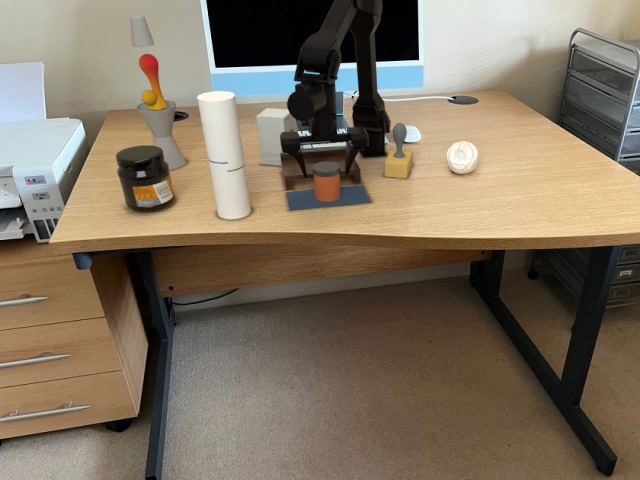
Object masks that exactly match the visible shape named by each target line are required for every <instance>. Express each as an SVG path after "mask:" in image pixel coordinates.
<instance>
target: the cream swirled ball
mask: <svg viewBox="0 0 640 480" xmlns="http://www.w3.org/2000/svg"><path fill="white" fill-rule="evenodd" d="M479 158H480V157H479V150H478V149H477V147H476V146H475V144H473V143H471V142H468V141H467V140H463V141H462V140H461V141H457V142H455V143H453V144H452V145H450V147H449V148H448V150H447V152H446V155H445V159H446V163H447V166H448V168H449V169H450V170H451V171H452V172H453V173H456V174H459V175H465V174H469V173H471V172H472V171H474V170H475V169H476V167H477V165H478V162H479Z"/></svg>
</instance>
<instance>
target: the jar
mask: <svg viewBox="0 0 640 480" xmlns="http://www.w3.org/2000/svg"><path fill="white" fill-rule="evenodd" d="M312 172H313V178H312V179H313V190H314V196H315V199H316V200H318V201H322V202H332V201H336V200H338V199H339V198H340V197H341V188H340V187H341V176H340V165H339V164H337V163H335V162H319V163H316V164H314V165H313V166H312Z"/></svg>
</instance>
